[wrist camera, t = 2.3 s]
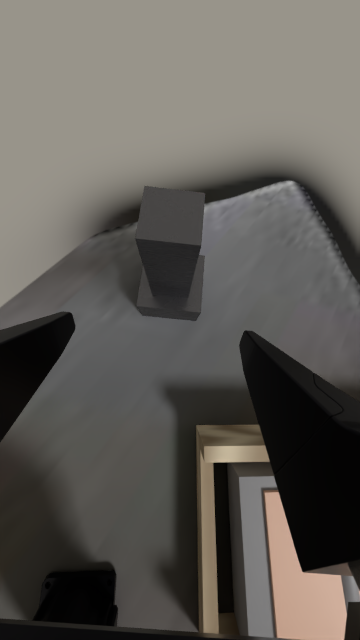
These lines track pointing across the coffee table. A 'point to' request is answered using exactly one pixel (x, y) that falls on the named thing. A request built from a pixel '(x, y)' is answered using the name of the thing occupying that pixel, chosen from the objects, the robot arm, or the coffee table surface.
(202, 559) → the trapdoor frame
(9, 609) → the coffee table surface
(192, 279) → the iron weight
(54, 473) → the coffee table surface
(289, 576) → the trapdoor
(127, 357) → the coffee table surface
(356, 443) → the robot arm
